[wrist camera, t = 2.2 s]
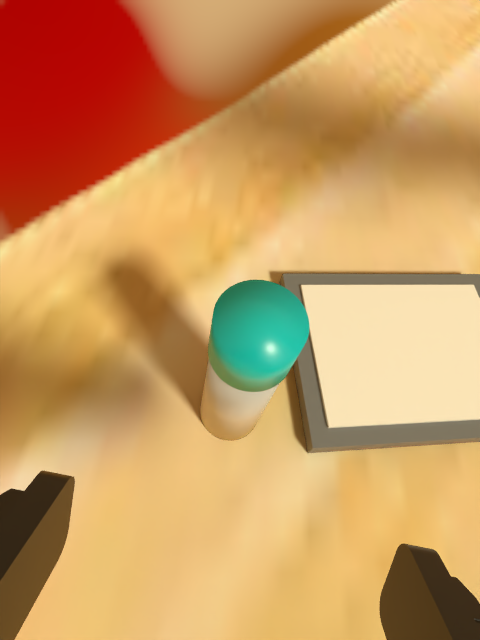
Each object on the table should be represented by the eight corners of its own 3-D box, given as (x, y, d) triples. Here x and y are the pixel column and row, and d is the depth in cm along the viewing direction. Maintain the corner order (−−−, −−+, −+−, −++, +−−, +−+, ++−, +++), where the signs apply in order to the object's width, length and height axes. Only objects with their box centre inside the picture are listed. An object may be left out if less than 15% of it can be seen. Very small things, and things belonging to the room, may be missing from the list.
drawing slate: (471, 282, 31) (481, 272, 30) (537, 437, 25) (553, 432, 24) (279, 282, 28) (283, 271, 27) (307, 453, 23) (313, 447, 22)
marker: (256, 380, 25) (301, 279, 16) (263, 440, 23) (317, 363, 14) (196, 383, 24) (209, 279, 15) (199, 444, 22) (216, 366, 14)
